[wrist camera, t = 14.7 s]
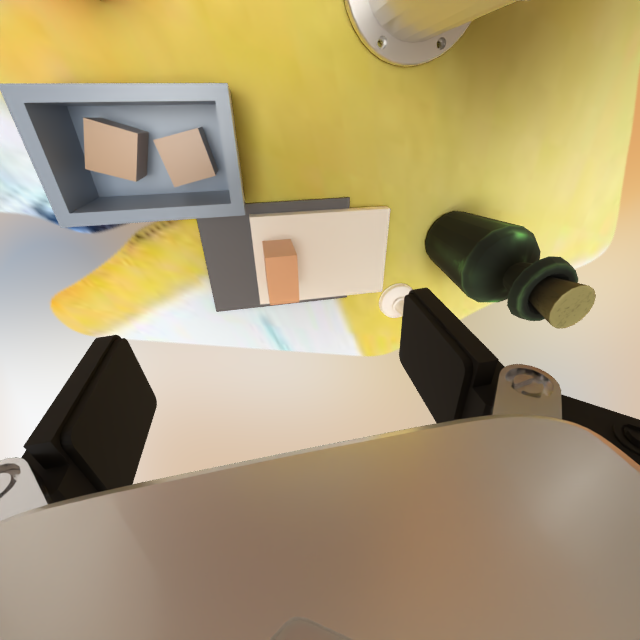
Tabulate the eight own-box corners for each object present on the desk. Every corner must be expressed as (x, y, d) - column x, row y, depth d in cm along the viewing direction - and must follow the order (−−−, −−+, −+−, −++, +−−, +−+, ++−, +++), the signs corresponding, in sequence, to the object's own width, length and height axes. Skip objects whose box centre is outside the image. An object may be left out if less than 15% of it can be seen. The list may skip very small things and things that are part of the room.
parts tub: (230, 90, 28) (227, 83, 23) (244, 198, 33) (245, 215, 27) (52, 91, 26) (-3, 83, 20) (94, 207, 31) (60, 227, 25)
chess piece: (384, 281, 42) (419, 322, 33) (418, 284, 43) (461, 324, 35) (374, 315, 44) (405, 360, 36) (407, 316, 45) (444, 361, 37)
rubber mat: (348, 197, 35) (349, 197, 35) (345, 295, 42) (346, 297, 41) (194, 206, 33) (194, 207, 32) (216, 310, 39) (216, 311, 39)
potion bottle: (455, 188, 37) (600, 235, 22) (491, 230, 41) (635, 295, 26) (404, 244, 39) (505, 321, 24) (443, 279, 43) (550, 364, 28)
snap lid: (386, 206, 36) (410, 220, 31) (378, 287, 41) (398, 311, 36) (249, 214, 34) (250, 231, 28) (259, 299, 39) (262, 327, 34)
